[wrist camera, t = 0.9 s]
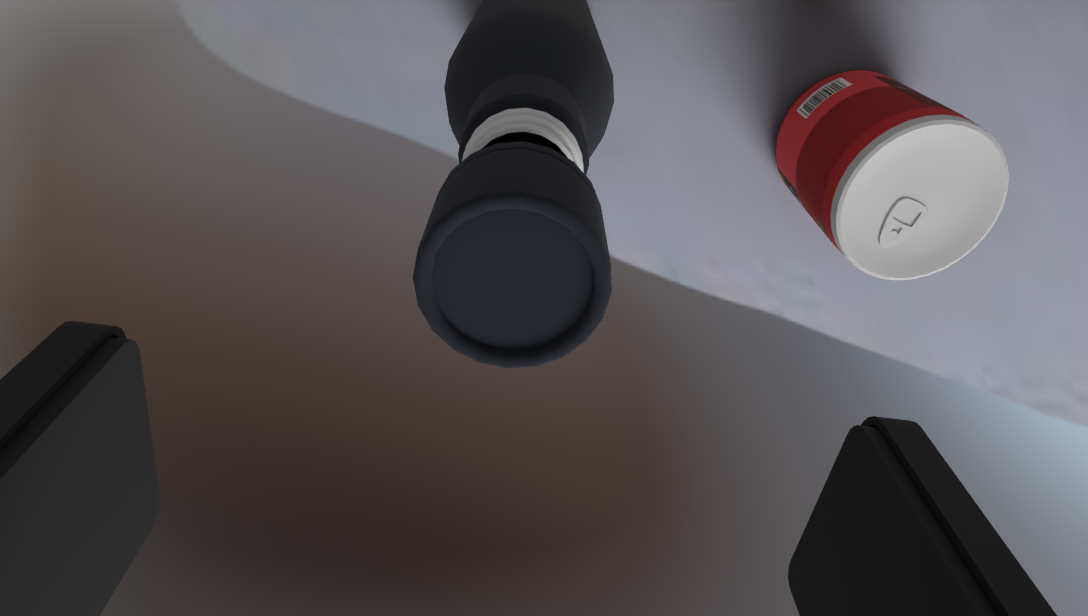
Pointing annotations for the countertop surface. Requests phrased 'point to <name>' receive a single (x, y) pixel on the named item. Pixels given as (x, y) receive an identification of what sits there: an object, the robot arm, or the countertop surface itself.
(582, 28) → the black water bottle
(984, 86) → the countertop surface
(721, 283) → the countertop surface
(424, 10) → the countertop surface
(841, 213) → the canned food
